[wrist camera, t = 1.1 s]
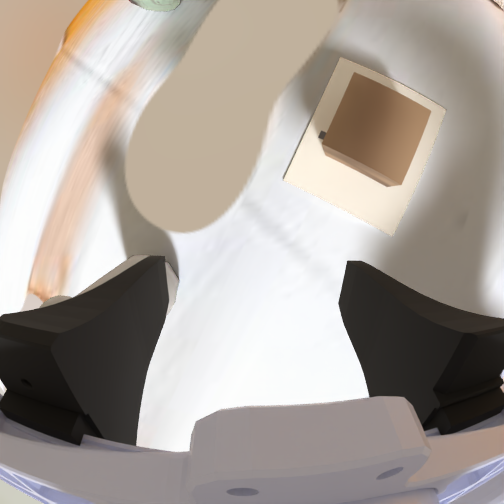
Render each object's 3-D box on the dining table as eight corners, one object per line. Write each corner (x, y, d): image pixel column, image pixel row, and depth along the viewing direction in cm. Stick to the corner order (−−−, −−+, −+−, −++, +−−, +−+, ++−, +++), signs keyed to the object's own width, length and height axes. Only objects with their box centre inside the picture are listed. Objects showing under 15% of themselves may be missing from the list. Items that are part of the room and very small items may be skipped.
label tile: (445, 110, 17) (446, 109, 17) (391, 236, 20) (392, 236, 20) (340, 57, 18) (340, 56, 18) (283, 180, 22) (283, 180, 21)
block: (412, 128, 18) (431, 110, 13) (386, 187, 19) (401, 185, 15) (351, 97, 19) (354, 71, 14) (325, 155, 20) (321, 143, 15)
